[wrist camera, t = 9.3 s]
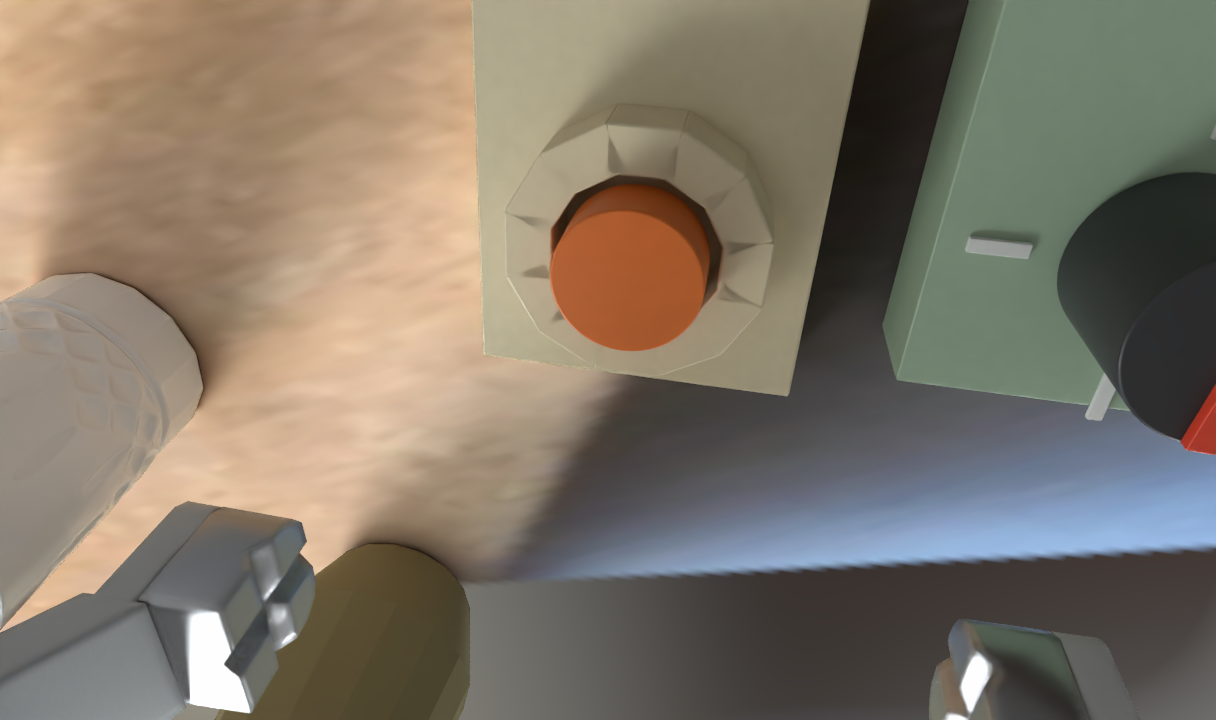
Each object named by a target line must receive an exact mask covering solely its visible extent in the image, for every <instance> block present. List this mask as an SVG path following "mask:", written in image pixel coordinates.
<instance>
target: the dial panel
mask: <svg viewBox="0 0 1216 720" xmlns="http://www.w3.org/2000/svg"><path fill="white" fill-rule="evenodd" d="M1192 172H1200V173H1211V174H1216V0H969V2H968V6H967V10H966V13H965V17H964V21H963V25H962V28H961V32H960V36H959V40H958V43H957V47H956V51H955V55H954V58H953V62H952V66H951V70H950V73H949V77H948V81H947V85H946V88H945V92H944V96H943V100H942V103H941V107H940V111H939V115H938V118H937V122H936V126H935V130H934V133H933V137H932V141H931V145H930V149H929V152H928V156H927V160H926V164H925V167H924V171H923V175H922V179H921V182H920V186H919V190H918V194H917V197H916V201H915V205H914V209H913V212H912V216H911V220H910V224H909V227H908V231H907V235H906V239H905V242H904V246H903V250H902V254H901V257H900V261H899V265H898V269H897V272H896V276H895V280H894V284H893V287H892V291H891V295H890V299H889V302H888V306H887V310H886V314H885V317H884V321H883V325H882V326H883V330H884V334H885V338H886V342H887V346H888V350H889V354H890V358H891V362H892V366H893V370H894V374H895V378H896V380H901V381H908V382H916V383H923V384H931V385H938V386H946V387H954V388H961V389H969V390H976V391H984V392H992V393H999V394H1007V395H1014V396H1022V397H1030V398H1037V399H1045V400H1052V401H1060V402H1068V403H1075V404H1083V405H1090V406H1089V408H1088V410H1087V412H1086V414H1085V417H1086V418H1087V419H1091V420H1099V421H1101V420H1102V418H1103V416H1104V414H1105V412H1106V410H1107V408H1113V409H1121V410H1128V411H1130V410H1129V408H1128V407H1127V405H1126V404H1125V403H1124V401H1123V400H1122V398H1121V397H1120V395H1119V394H1118V392H1117V391H1116V389H1115V388H1114V386H1113V385H1112V383H1111V382H1110V380H1109V379H1108V377H1107V376H1106V374H1105V373H1104V371H1103V370H1102V368H1101V367H1100V365H1099V364H1098V362H1097V361H1096V359H1095V358H1094V356H1093V355H1092V353H1091V352H1090V350H1089V349H1088V347H1087V346H1086V344H1085V343H1084V341H1083V340H1082V338H1081V337H1080V335H1079V334H1078V332H1077V331H1076V329H1075V328H1074V326H1073V325H1072V323H1071V322H1070V320H1069V319H1068V317H1067V316H1066V314H1065V312H1064V310H1063V308H1062V306H1061V304H1060V300H1059V297H1058V290H1057V273H1058V269H1059V264H1060V260H1061V258H1062V255H1063V252H1064V250H1065V248H1066V246H1067V244H1068V242H1069V240H1070V238H1071V237H1072V235H1073V234H1074V233H1075V231H1076V230H1077V228H1078V227H1079V226H1080V225H1081V224H1082V222H1083V221H1084V220H1085V219H1086V218H1087V217H1088V216H1089V215H1090V214H1091V213H1092V212H1093V211H1094V210H1095V209H1097V208H1098V207H1099V206H1100V205H1102V204H1103V203H1104V202H1106V201H1107V200H1108V199H1110V198H1111V197H1113V196H1115V195H1116V194H1118V193H1120V192H1121V191H1123V190H1125V189H1127V188H1130V187H1132V186H1134V185H1136V184H1138V183H1141V182H1144V181H1147V180H1150V179H1153V178H1157V177H1161V176H1165V175H1171V174H1178V173H1192Z"/></svg>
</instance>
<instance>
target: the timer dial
mask: <svg viewBox="0 0 1216 720" xmlns="http://www.w3.org/2000/svg"><path fill="white" fill-rule="evenodd" d="M1057 290H1058V297H1059V300H1060V304H1061V306H1062V308H1063V310H1064V312H1065V314H1066V316H1067V317H1068V319H1069V320H1070V322H1071V323H1072V325H1073V326H1074V328H1075V329H1076V331H1077V332H1078V334H1079V335H1080V337H1081V338H1082V340H1083V341H1084V343H1085V344H1086V346H1087V347H1088V349H1089V350H1090V352H1091V353H1092V355H1093V356H1094V358H1095V359H1096V361H1097V362H1098V364H1099V365H1100V367H1101V368H1102V370H1103V371H1104V373H1105V374H1106V376H1107V377H1108V379H1109V380H1110V382H1111V383H1112V385H1113V386H1114V388H1115V389H1116V391H1117V392H1118V394H1119V395H1120V397H1121V398H1122V400H1123V401H1124V403H1125V404H1126V405H1127V407H1128V408H1129V410H1130V411H1131V412H1132V414H1133V415H1134V416H1135V417H1136V418H1137V419H1138V420H1139V421H1140V422H1142V423H1143V424H1144V425H1146V426H1147V427H1149V428H1150V429H1151V430H1153V431H1155V432H1157V433H1159V434H1161V435H1163V436H1165V437H1168V438H1171V439H1174V440H1176V441H1180V442H1181V444H1182V445H1183V446H1184V448H1185V449H1186V450H1188V451H1194V452H1199V453H1205V454H1210V455H1215V454H1216V174H1211V173H1200V172H1192V173H1178V174H1171V175H1165V176H1161V177H1157V178H1153V179H1150V180H1147V181H1144V182H1141V183H1138V184H1136V185H1134V186H1132V187H1130V188H1127V189H1125V190H1123V191H1121V192H1120V193H1118V194H1116V195H1115V196H1113V197H1111V198H1110V199H1108V200H1107V201H1106V202H1104V203H1103V204H1102V205H1100V206H1099V207H1098V208H1097V209H1095V210H1094V211H1093V212H1092V213H1091V214H1090V215H1089V216H1088V217H1087V218H1086V219H1085V220H1084V221H1083V222H1082V224H1081V225H1080V226H1079V227H1078V228H1077V230H1076V231H1075V233H1074V234H1073V235H1072V237H1071V238H1070V240H1069V242H1068V244H1067V246H1066V248H1065V250H1064V252H1063V255H1062V258H1061V260H1060V264H1059V269H1058V273H1057Z"/></svg>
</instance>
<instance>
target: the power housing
mask: <svg viewBox="0 0 1216 720" xmlns="http://www.w3.org/2000/svg"><path fill="white" fill-rule="evenodd" d="M870 1H871V0H471V4H472V34H473V63H474V93H475V122H476V152H477V181H478V211H479V240H480V270H481V299H482V329H483V353H484V355H488V356H495V357H502V358H510V359H517V360H525V361H532V362H539V363H547V364H554V365H561V366H569V367H576V368H583V369H591V370H598V371H605V372H613V373H620V374H627V375H635V376H642V377H649V378H657V379H664V380H672V381H679V382H686V383H694V384H701V385H708V386H716V387H723V388H730V389H738V390H745V391H752V392H760V393H767V394H774V395H782V396H788V394H789V392H790V387H791V382H792V377H793V373H794V368H795V363H796V358H797V353H798V348H799V344H800V339H801V334H802V329H803V324H804V319H805V315H806V310H807V305H808V300H809V295H810V290H811V286H812V281H813V276H814V271H815V266H816V261H817V257H818V252H819V247H820V242H821V237H822V232H823V228H824V223H825V218H826V213H827V208H828V203H829V199H830V194H831V189H832V184H833V179H834V174H835V170H836V165H837V160H838V155H839V150H840V146H841V141H842V136H843V131H844V126H845V121H846V117H847V112H848V107H849V102H850V97H851V92H852V88H853V83H854V78H855V73H856V68H857V63H858V59H859V54H860V49H861V44H862V39H863V34H864V30H865V25H866V20H867V15H868V10H869V5H870ZM624 184H643V185H649V186H653V187H657V188H660V189H662V190H665V191H667V192H669V193H671V194H673V195H674V196H676V197H678V198H679V199H680V200H682V201H683V202H684V203H685V204H687V205H688V206H689V207H690V208H691V210H692V211H693V212H694V213H695V214H696V216H697V217H698V218H699V220H700V222H701V224H702V225H703V227H704V230H705V232H706V235H707V238H708V242H709V249H710V263H709V270H708V277H707V283H706V290H705V296H704V301H703V304H702V307H701V309H700V312H699V314H698V315H697V317H696V319H695V320H694V322H693V323H692V324H691V326H690V327H689V328H688V329H687V330H686V331H685V332H684V333H683V334H681V335H680V336H679V337H678V338H676V339H674V340H673V341H671V342H669V343H667V344H665V345H663V346H660V347H657V348H654V349H650V350H644V351H620V350H615V349H611V348H608V347H604V346H602V345H599V344H597V343H595V342H593V341H591V340H589V339H587V338H586V337H584V336H583V335H582V334H580V333H579V332H578V331H577V330H575V329H574V328H573V327H572V326H571V325H570V324H569V322H568V321H567V320H566V319H565V318H564V316H563V315H562V313H561V312H560V310H559V308H558V306H557V304H556V302H555V299H554V296H553V293H552V289H551V284H550V266H551V261H552V256H553V254H554V251H555V249H556V246H557V244H558V243H559V241H560V239H561V237H562V236H563V234H564V232H565V230H566V228H567V227H568V225H569V223H570V221H571V220H572V218H573V216H574V214H575V213H576V212H577V210H578V209H579V208H580V206H581V205H582V204H584V203H585V202H586V201H587V200H588V199H589V198H591V197H592V196H593V195H595V194H597V193H599V192H600V191H602V190H605V189H607V188H610V187H613V186H618V185H624Z"/></svg>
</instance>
